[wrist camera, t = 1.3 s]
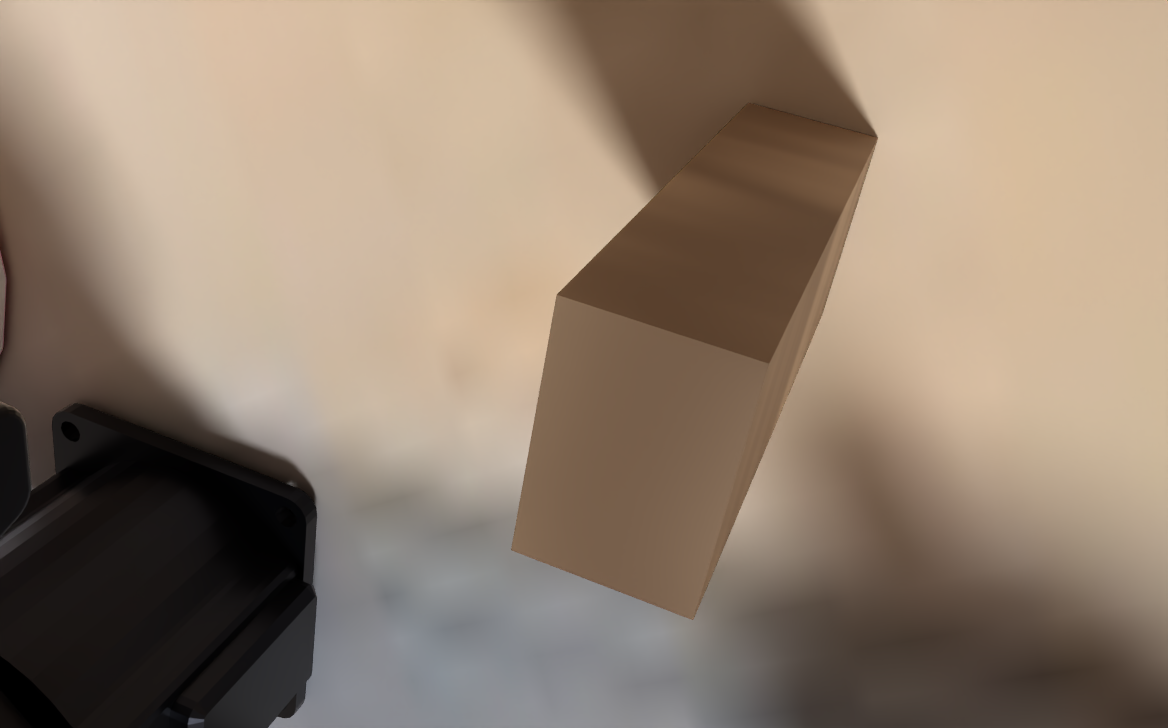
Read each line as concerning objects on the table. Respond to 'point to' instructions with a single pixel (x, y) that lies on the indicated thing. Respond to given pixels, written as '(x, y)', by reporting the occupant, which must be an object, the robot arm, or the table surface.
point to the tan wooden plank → (685, 357)
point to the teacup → (2, 301)
